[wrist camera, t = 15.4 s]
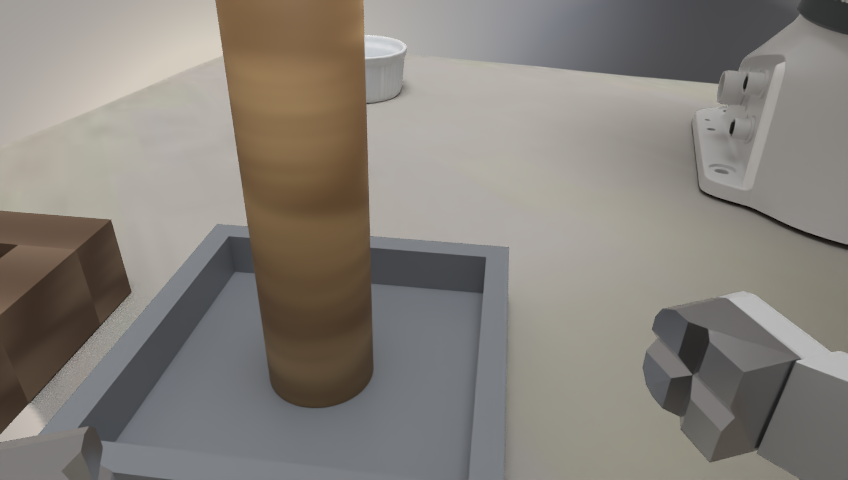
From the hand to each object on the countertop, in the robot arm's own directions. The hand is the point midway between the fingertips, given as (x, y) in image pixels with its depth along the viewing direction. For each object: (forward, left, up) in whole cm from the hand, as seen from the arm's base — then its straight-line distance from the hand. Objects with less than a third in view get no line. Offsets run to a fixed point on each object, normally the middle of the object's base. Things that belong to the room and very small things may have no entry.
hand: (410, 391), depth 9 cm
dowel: (-11, -5, -10) cm, 16 cm away
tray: (-11, -5, -11) cm, 17 cm away
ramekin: (-49, -12, -12) cm, 52 cm away
